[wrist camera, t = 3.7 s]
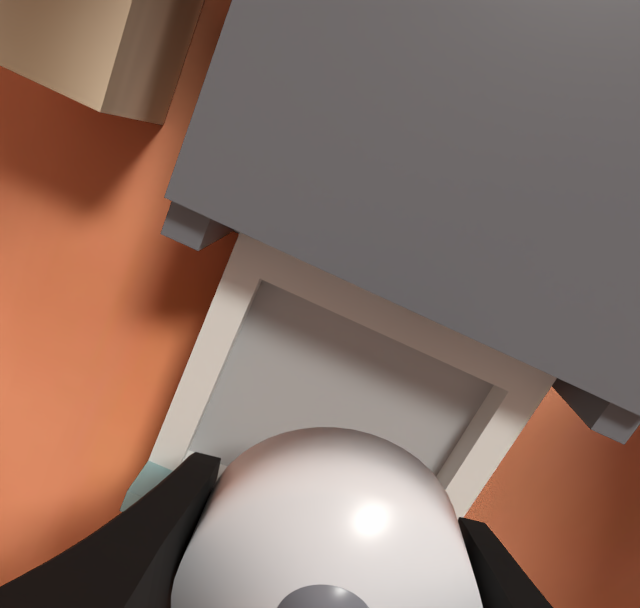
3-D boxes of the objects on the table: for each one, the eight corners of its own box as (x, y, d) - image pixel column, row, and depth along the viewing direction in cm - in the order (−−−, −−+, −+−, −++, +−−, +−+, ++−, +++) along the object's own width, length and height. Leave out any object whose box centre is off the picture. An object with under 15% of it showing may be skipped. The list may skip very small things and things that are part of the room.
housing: (852, -79, 13) (1174, -235, 8) (552, 371, 17) (637, 458, 12) (415, -318, 12) (460, -663, 7) (213, 214, 16) (150, 237, 11)
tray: (590, 273, 14) (651, 301, 11) (406, 556, 18) (418, 634, 15) (290, 130, 14) (272, 121, 11) (159, 451, 17) (119, 511, 14)
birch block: (206, -6, 14) (151, -68, 10) (163, 125, 15) (100, 112, 11) (80, -68, 14) (-24, -155, 10) (45, 70, 15) (-59, 38, 11)
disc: (364, 673, 11) (367, 776, 10) (160, 563, 11) (119, 649, 9) (513, 514, 10) (552, 599, 8) (286, 377, 9) (269, 432, 7)
